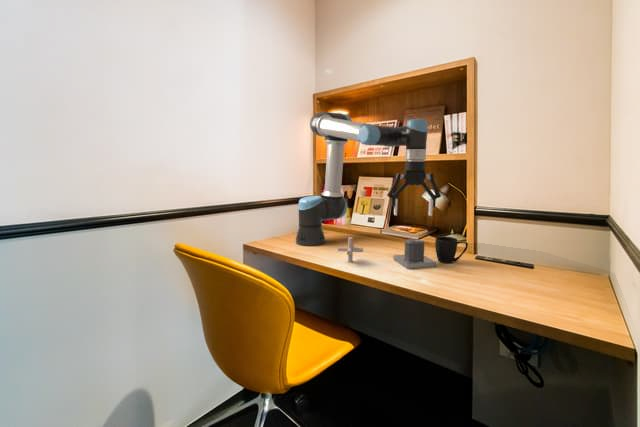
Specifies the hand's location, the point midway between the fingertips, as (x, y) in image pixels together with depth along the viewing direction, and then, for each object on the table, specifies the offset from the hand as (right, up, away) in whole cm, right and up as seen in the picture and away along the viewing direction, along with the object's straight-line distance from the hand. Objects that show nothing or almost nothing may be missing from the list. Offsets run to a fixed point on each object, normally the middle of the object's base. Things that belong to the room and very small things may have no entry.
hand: (412, 215), depth 125 cm
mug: (+16, -19, +3) cm, 25 cm away
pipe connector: (-24, -19, +4) cm, 31 cm away
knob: (+1, -17, +1) cm, 17 cm away
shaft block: (+1, -19, +1) cm, 19 cm away
